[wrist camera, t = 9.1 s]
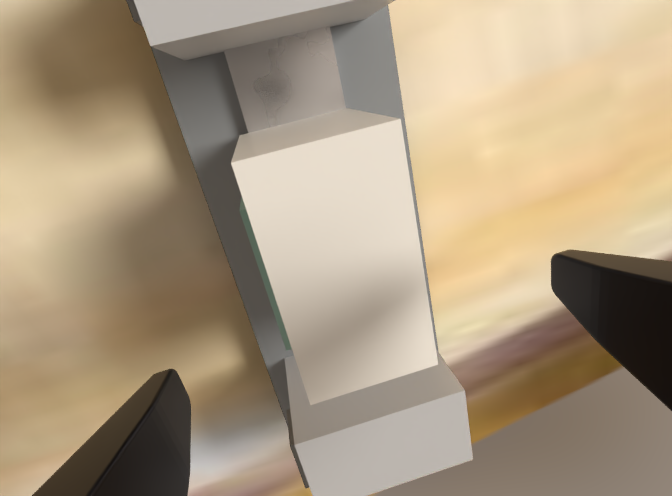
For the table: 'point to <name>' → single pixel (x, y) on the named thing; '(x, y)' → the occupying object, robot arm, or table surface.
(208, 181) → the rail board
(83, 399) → the table surface
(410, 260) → the block
